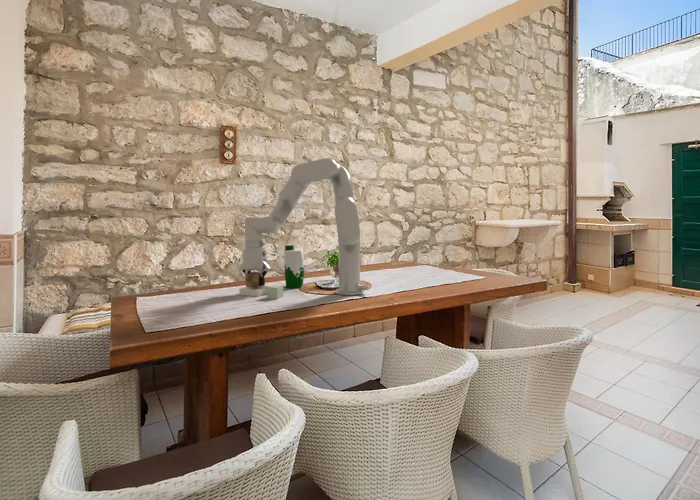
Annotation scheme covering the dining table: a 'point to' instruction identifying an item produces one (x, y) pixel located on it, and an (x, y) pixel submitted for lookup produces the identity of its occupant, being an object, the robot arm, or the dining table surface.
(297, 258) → the milk carton
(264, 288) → the stone base
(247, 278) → the walnut block
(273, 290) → the sage block
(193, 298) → the dining table surface
